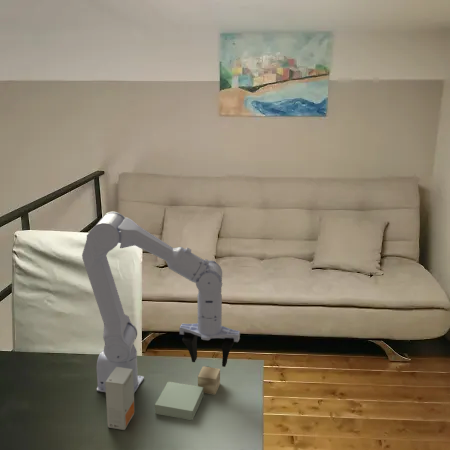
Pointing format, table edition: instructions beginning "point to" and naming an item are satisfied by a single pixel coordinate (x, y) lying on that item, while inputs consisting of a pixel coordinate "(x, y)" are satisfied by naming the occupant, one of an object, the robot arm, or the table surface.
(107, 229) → the robot arm
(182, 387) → the sage base
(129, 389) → the skincare box
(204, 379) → the maple cube
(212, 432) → the table surface
